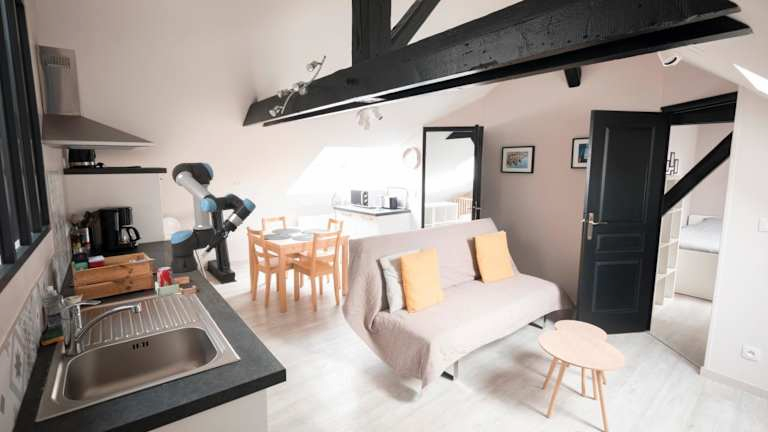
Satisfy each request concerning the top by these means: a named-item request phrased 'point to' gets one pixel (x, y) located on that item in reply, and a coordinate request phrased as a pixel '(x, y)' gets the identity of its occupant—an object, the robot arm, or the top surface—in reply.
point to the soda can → (165, 277)
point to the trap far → (182, 280)
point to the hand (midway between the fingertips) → (201, 256)
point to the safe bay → (167, 289)
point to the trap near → (188, 290)
